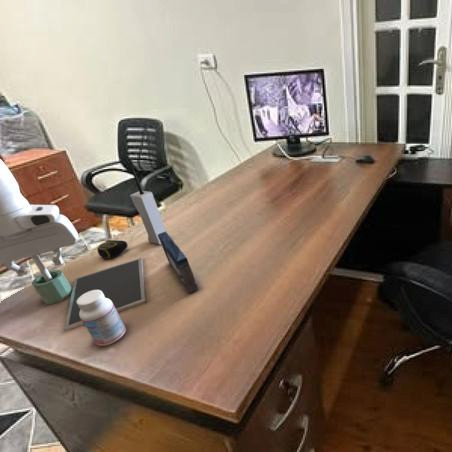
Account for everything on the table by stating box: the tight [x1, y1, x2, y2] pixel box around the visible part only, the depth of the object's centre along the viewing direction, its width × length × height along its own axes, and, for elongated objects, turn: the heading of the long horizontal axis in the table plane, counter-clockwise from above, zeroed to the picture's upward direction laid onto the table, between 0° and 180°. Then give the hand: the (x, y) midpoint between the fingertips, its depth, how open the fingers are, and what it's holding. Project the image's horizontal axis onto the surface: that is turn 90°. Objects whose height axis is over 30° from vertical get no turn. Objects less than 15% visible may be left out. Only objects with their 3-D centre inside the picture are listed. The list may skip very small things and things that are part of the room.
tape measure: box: [97, 239, 129, 259], centre depth 107 cm, size 7×7×4 cm
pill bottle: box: [77, 290, 127, 347], centre depth 74 cm, size 6×6×11 cm
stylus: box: [30, 254, 53, 282], centre depth 88 cm, size 1×1×13 cm
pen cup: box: [31, 269, 73, 305], centre depth 90 cm, size 6×6×6 cm
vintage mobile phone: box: [130, 167, 167, 246], centre depth 106 cm, size 4×5×25 cm
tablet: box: [63, 257, 147, 332], centre depth 91 cm, size 17×22×1 cm
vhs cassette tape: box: [158, 231, 199, 294], centre depth 92 cm, size 18×3×10 cm, turn 36°
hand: (41, 268), depth 87 cm, fingers open, 6 cm apart
